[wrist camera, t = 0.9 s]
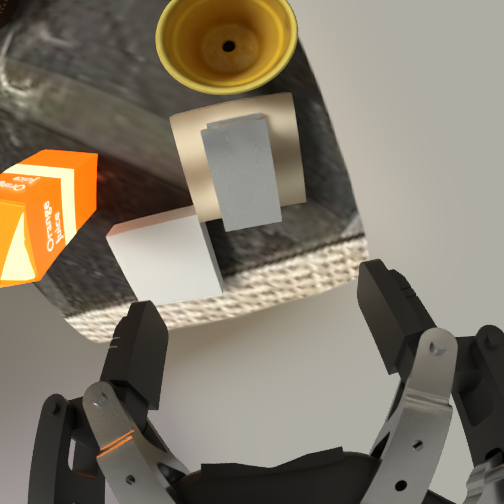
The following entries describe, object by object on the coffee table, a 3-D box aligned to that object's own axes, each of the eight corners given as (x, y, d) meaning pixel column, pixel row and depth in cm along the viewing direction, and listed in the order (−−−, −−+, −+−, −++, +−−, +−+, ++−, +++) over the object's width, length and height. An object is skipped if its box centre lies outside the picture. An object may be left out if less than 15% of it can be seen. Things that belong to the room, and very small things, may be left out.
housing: (207, 122, 24) (200, 131, 19) (258, 112, 24) (265, 118, 19) (226, 204, 29) (225, 231, 24) (273, 195, 29) (282, 221, 24)
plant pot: (166, 27, 20) (137, 4, 12) (261, -3, 19) (274, -38, 11) (197, 106, 26) (180, 115, 18) (290, 78, 25) (317, 75, 17)
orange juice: (43, 148, 26) (-69, 225, 9) (98, 152, 27) (-17, 242, 11) (45, 202, 30) (-43, 297, 13) (96, 210, 31) (14, 325, 15)
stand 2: (175, 114, 26) (169, 117, 24) (286, 92, 26) (291, 92, 23) (201, 211, 33) (199, 222, 30) (300, 192, 32) (306, 202, 30)
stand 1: (113, 225, 33) (105, 236, 30) (199, 203, 32) (196, 214, 30) (147, 293, 39) (142, 307, 37) (223, 280, 39) (222, 295, 36)
